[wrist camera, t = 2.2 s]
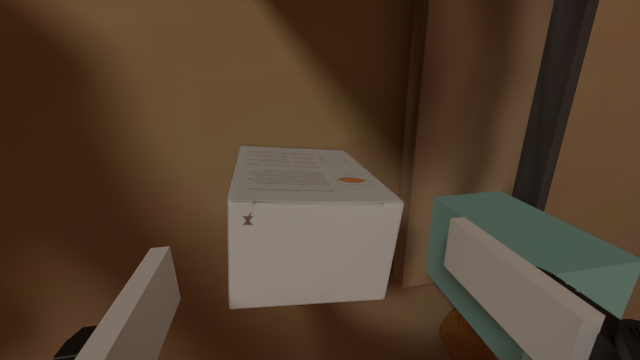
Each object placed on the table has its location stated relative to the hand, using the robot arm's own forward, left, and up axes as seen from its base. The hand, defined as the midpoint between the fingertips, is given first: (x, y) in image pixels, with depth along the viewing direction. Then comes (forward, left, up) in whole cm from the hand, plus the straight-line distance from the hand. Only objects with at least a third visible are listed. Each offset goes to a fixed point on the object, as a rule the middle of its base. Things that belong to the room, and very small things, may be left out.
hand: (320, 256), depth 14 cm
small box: (0, 0, -10) cm, 10 cm away
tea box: (+14, -5, -8) cm, 17 cm away
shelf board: (+14, +4, -10) cm, 17 cm away
